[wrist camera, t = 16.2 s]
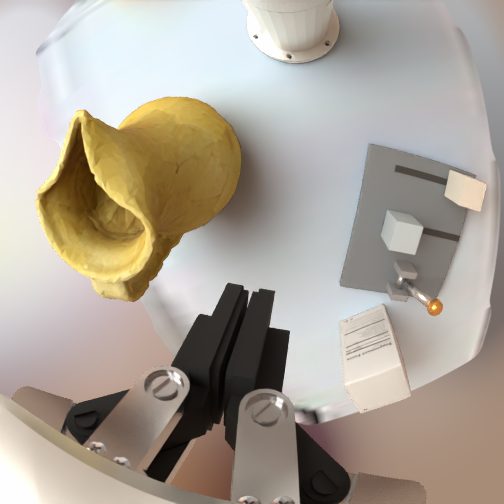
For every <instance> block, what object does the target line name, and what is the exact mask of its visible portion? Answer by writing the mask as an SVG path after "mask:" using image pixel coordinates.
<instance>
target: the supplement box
mask: <svg viewBox="0 0 504 504" xmlns="http://www.w3.org/2000/svg"><path fill="white" fill-rule="evenodd" d="M339 329H340V340H341V353H342V369H343V385H344V387H345V389H346V390H347V392H348V394H349V395H350V397H351V399H352V401H353V402H354V403H355V405H356V407H357V408H358V410H359V411H360V413H364V412H367V411H370V410H373V409H376V408H379V407H382V406H385V405H388V404H391V403H394V402H397V401H400V400H403V399H406V398H408V397H410V396H411V391H410V386H409V381H408V377H407V373H406V369H405V365H404V362H403V358H402V355H401V351H400V348H399V344H398V341H397V338H396V335H395V332H394V329H393V327H392V324H391V321H390V319H389V316H388V314H387V311H386V308H385V306H384V304H381V305H378V306H376V307H374V308H371V309H369V310H367V311H364V312H362V313H360V314H357V315H355V316H352V317H350V318H347V319H345V320H343V321H340V322H339Z"/></svg>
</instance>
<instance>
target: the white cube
mask: <svg viewBox="0 0 504 504" xmlns="http://www.w3.org/2000/svg"><path fill="white" fill-rule="evenodd" d="M422 231H423V226H422V225H421V224H420V223H419V222H418V221H417V220H416V219H415V218H414V217H413V216H412V215H410V214H405V213H401V212H396V211H392V210H387V212H386V216H385V220H384V225H383V228H382V232H381V237H382V239H383V240H384V242H385V244H386V246H387V247H388V249H389V250H391V251H397V252H402V253H408V254H413V255H415V253H416V250H417V247H418V244H419V241H420V237H421V234H422Z"/></svg>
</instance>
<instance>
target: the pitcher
mask: <svg viewBox="0 0 504 504" xmlns="http://www.w3.org/2000/svg"><path fill="white" fill-rule="evenodd" d="M240 149H241V147H240V144H239V142H238V139H237V137H236V135H235V133H234V131H233V129H232V127H231V125H229V124H228V123H227V121H226V120H225V119H224V118H222V117H221V116H220V115H219V114H218V113H217V112H216V110H215V109H214V108H212V107H211V106H210V105H208V104H206V103H204V102H202V101H199V100H197V99H192V98H188V97H164V98H161V99H157V100H154V101H151V102H148V103H146V104H144V105H142V106H140V107H139V108H138V109H136V110H135V111H133V112H132V113H131V114H130V115H129V116H128V117H127V118H126V119H125V120H124V121H123V122H122V123H121V124H120V125H119V127H118V128H117V129H115V128H113V127H111V126H109V125H107V124H105V123H104V122H102V121H101V120H99V119H96V118H93V117H92V116H91V115H90V114H89V113H88V112H87V111H86V110H79V111H77V112H76V113H75V115H74V116H73V118H72V120H71V122H70V125H69V129H68V132H67V135H66V138H65V141H64V145H63V149H62V152H61V155H60V158H59V161H58V164H57V166H56V168H55V170H54V171H53V173H52V175H51V176H50V177H49V179H48V180H47V181H46V182H45V183H44V184H43V185H42V186H41V187H40V188H39V189H38V191H37V199H36V200H35V203H36V209H37V212H38V214H39V217H40V224H41V226H42V228H43V230H44V232H45V234H46V236H47V238H48V240H49V242H50V244H51V246H52V248H53V249H55V250H56V252H57V253H58V254H59V256H60V257H61V258H62V259H63V260H64V261H65V262H66V263H68V264H69V265H70V266H71V267H72V268H73V269H75V270H76V271H78V272H80V273H81V274H83V275H84V276H86V277H88V278H90V279H91V280H92V284H93V288H94V290H95V291H96V292H97V293H98V294H99V296H102V297H104V298H109V299H120V300H123V301H132V302H135V301H136V300H138V299H139V298H140V297H142V296H143V295H144V293H145V291H146V290H147V289H148V287H149V281H151V280H153V279H154V278H155V277H156V276H157V274H158V272H159V271H160V269H161V268H162V266H163V261H164V260H165V259H166V258H167V257H168V255H169V253H170V251H171V249H172V248H173V247H175V246H176V245H178V243H179V242H180V239H181V238H182V236H183V234H184V233H186V232H189V231H192V230H194V229H197V228H199V227H200V226H203V225H205V224H206V223H208V222H209V221H210V220H211V219H212V218H213V217H214V216H215V215H217V214H218V213H219V212H220V211H221V210H222V209H223V208H224V207H225V205H226V204H227V203H228V202H229V201H230V199H231V197H232V196H233V194H234V192H235V190H236V187H237V183H238V180H239V177H240V172H241V160H242V156H241V151H240Z"/></svg>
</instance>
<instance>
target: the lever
mask: <svg viewBox="0 0 504 504" xmlns="http://www.w3.org/2000/svg"><path fill="white" fill-rule="evenodd" d="M395 287H396V288H398V289H401V288H402V287H403V288H404V289H405V290H407V291H408V292H409V293H410V294H412V295H413V296H414V297H415V298H416V299H418V300H419V301H420V302H421V303H423V304H424V305H425V306H426V307H427V310H428V313H429V314H430V315H432V316H437V315H439V314H440V313H441V311H442V309H443V305H442V302H441V301H440V300H439V299H432V298H431V297H429V296H428V295H427V294H426V293H424V292H423V291H422V290H420V289H419V288H418V287H417V286H415V285H414V284H413V283H411V282H410V281H409V280H408V279H406V278H403V277H399V276H398V278H397V281H396V284H395Z"/></svg>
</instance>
